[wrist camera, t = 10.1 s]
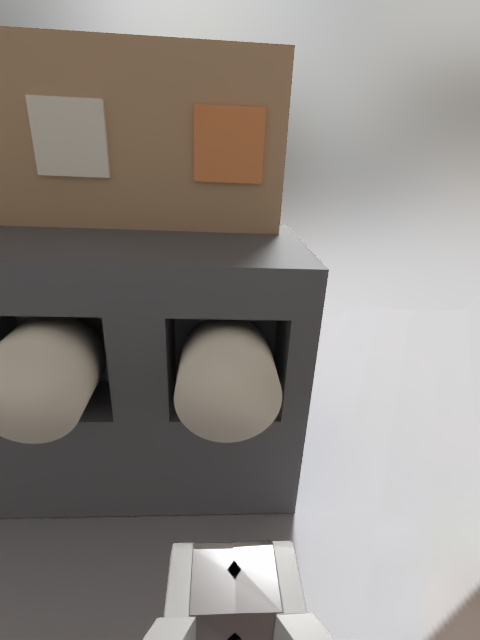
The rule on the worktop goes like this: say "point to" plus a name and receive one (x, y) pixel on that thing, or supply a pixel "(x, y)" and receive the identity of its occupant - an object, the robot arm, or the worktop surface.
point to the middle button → (47, 377)
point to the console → (152, 260)
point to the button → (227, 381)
